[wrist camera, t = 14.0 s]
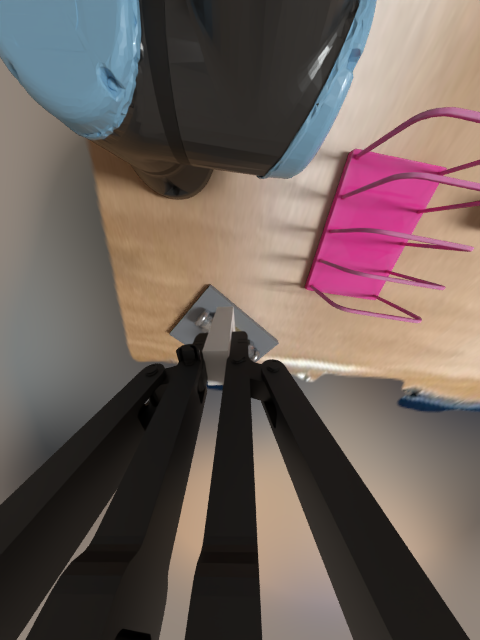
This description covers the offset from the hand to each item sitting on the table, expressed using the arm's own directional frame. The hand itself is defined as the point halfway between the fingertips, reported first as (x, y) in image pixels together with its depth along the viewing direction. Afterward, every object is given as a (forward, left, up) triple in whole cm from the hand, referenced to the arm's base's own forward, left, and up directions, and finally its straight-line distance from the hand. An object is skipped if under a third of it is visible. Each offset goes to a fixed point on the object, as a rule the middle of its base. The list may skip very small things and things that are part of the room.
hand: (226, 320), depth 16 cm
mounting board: (+10, -16, -26) cm, 32 cm away
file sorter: (+16, +23, -27) cm, 39 cm away
